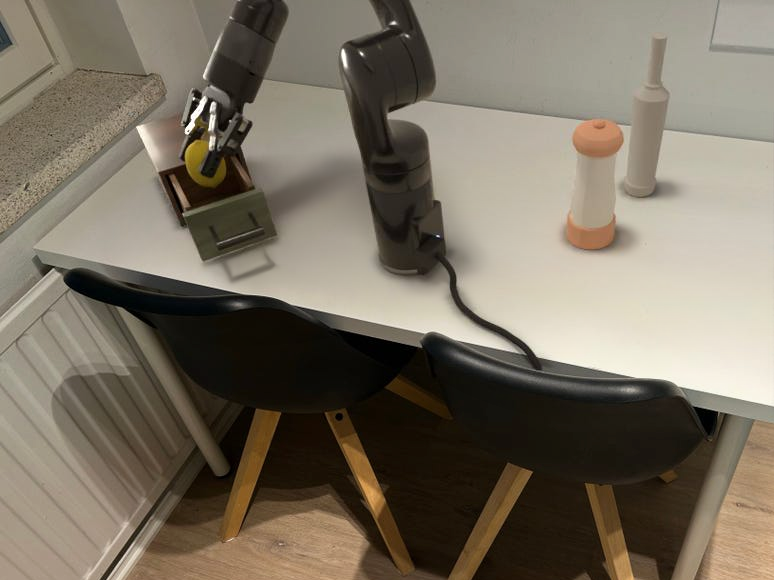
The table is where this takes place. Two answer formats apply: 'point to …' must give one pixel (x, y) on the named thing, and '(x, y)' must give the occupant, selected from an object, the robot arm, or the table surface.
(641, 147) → the bottle
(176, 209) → the cabinet
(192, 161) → the lemon
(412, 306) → the table surface
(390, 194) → the robot arm
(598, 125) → the pepper shaker
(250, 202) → the drawer
